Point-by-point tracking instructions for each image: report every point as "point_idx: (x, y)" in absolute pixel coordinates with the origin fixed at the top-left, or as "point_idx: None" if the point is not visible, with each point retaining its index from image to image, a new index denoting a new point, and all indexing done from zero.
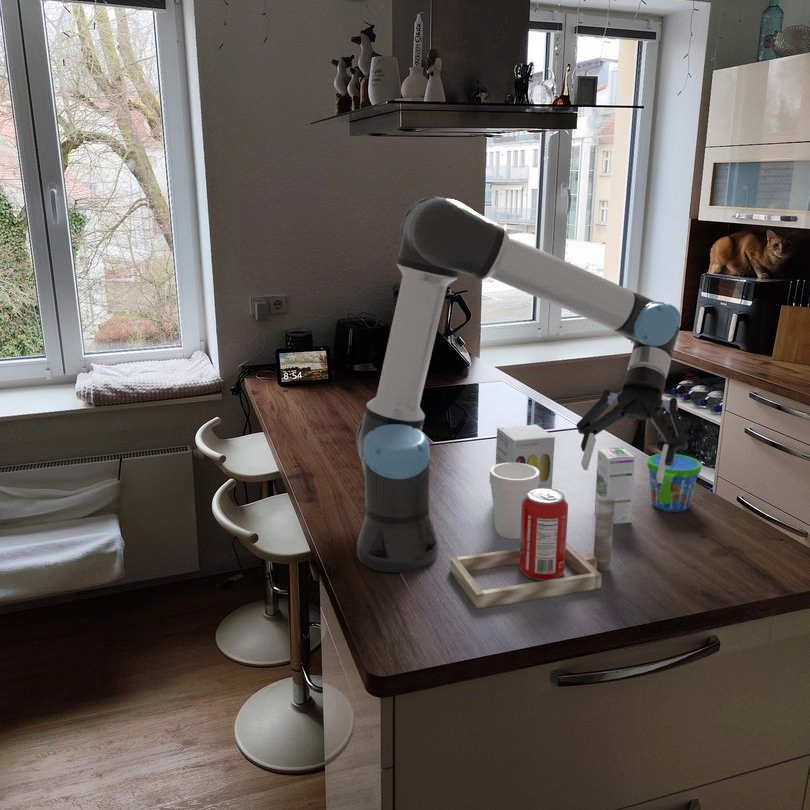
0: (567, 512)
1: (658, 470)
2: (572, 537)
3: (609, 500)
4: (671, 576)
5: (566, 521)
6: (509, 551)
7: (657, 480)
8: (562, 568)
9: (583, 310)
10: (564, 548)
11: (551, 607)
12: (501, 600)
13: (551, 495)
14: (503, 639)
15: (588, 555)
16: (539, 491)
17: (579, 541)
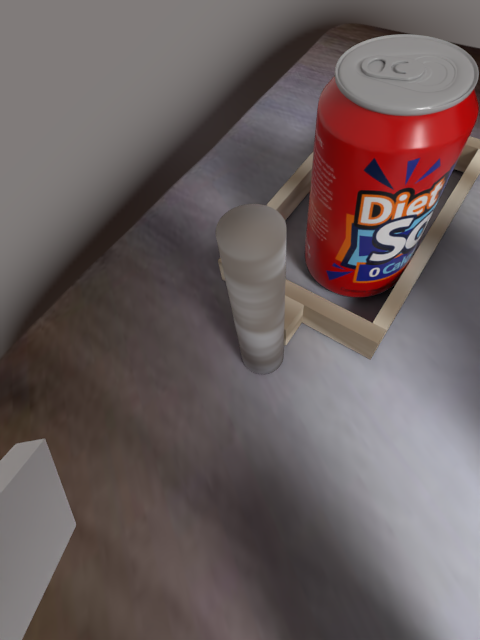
0: (321, 138)
1: (15, 469)
2: (429, 477)
3: (236, 230)
4: (107, 429)
5: (316, 158)
6: (438, 225)
7: (64, 498)
8: (305, 248)
9: None
10: (309, 218)
11: (265, 192)
12: None
13: (385, 73)
14: (274, 111)
15: (286, 314)
16: (446, 78)
17: (395, 464)
